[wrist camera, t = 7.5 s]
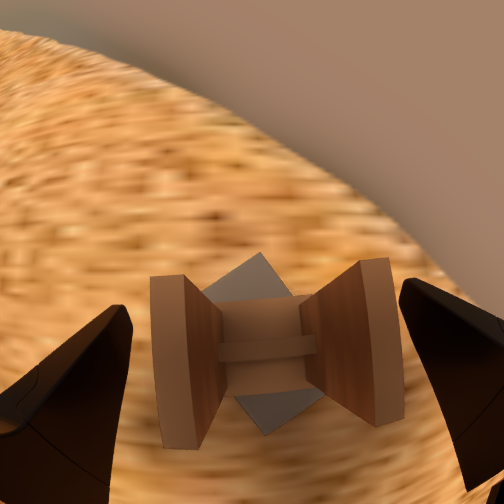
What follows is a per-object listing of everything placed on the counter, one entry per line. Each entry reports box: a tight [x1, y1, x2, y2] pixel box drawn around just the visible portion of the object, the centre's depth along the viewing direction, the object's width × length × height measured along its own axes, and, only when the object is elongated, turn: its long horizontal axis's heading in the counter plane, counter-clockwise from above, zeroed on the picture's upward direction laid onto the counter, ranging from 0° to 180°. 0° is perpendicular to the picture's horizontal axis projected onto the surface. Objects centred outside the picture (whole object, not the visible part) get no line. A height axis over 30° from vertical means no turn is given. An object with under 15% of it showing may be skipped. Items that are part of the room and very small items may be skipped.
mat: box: [201, 252, 326, 436], centre depth 15 cm, size 9×6×1 cm, turn 35°
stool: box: [150, 257, 404, 450], centre depth 10 cm, size 5×6×10 cm
